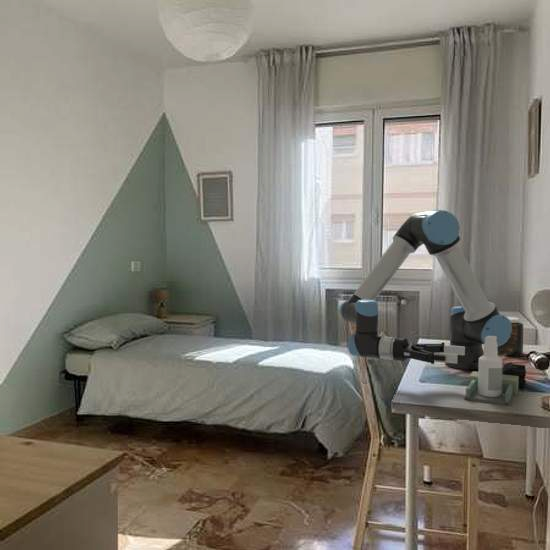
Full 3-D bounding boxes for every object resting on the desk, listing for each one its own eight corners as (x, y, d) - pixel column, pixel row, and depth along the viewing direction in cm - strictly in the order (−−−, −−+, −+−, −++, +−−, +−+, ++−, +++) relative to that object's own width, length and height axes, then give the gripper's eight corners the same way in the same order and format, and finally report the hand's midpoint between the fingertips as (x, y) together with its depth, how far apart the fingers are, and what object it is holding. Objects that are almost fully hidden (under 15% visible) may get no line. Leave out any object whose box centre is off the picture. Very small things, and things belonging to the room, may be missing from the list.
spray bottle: (500, 398, 164) (501, 339, 163) (476, 395, 167) (477, 337, 166) (503, 393, 170) (504, 335, 169) (479, 390, 173) (481, 334, 172)
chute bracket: (472, 384, 183) (473, 371, 183) (518, 389, 177) (518, 376, 176) (462, 399, 166) (462, 384, 166) (512, 405, 160) (512, 390, 159)
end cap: (502, 380, 189) (502, 361, 188) (524, 382, 186) (525, 362, 186) (501, 387, 180) (502, 367, 179) (525, 390, 177) (525, 369, 176)
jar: (524, 356, 227) (525, 320, 226) (494, 354, 231) (495, 319, 230) (521, 351, 238) (522, 316, 237) (492, 349, 242) (493, 315, 241)
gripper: (404, 353, 193) (467, 359, 183) (383, 367, 171) (453, 375, 161) (404, 331, 193) (467, 336, 183) (383, 343, 171) (454, 350, 161)
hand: (461, 354), depth 172 cm, fingers open, 13 cm apart
